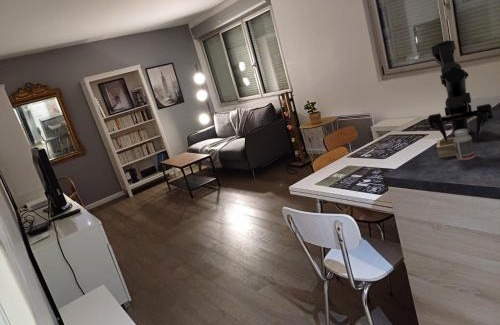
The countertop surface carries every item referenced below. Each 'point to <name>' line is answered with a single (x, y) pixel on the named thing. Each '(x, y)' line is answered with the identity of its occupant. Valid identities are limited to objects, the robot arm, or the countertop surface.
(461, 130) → the pill bottle
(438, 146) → the birch socket stand
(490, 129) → the countertop surface
